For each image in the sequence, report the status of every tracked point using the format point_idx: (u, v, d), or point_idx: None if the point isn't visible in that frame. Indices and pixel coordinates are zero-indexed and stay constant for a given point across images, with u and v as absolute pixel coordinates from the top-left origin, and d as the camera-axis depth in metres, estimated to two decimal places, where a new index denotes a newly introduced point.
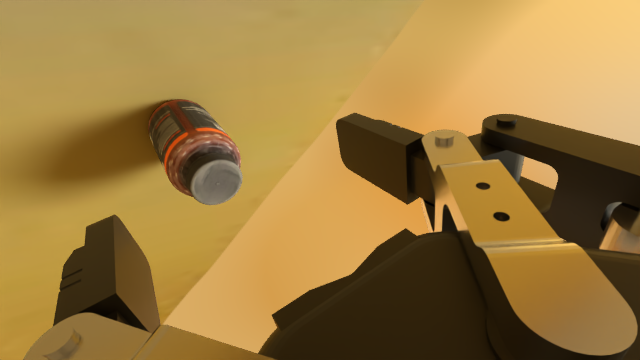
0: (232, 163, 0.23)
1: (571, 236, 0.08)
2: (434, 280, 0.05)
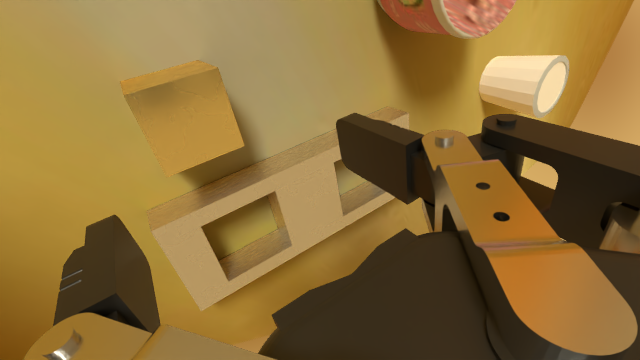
0: None
1: (571, 236, 0.08)
2: (434, 280, 0.05)
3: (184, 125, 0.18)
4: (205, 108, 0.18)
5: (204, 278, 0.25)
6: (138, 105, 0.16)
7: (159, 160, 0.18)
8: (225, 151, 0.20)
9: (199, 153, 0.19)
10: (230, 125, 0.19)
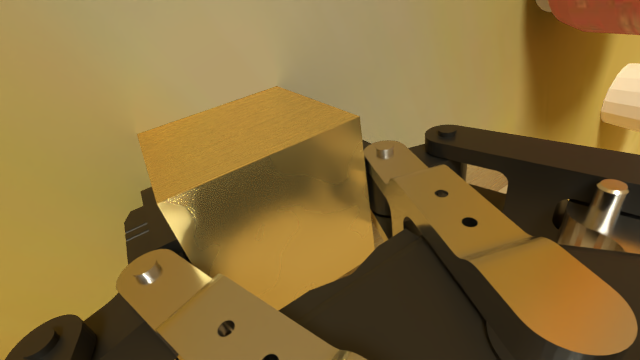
0: None
1: None
2: (434, 280, 0.05)
3: (281, 241, 0.08)
4: (324, 201, 0.08)
5: None
6: (190, 219, 0.07)
7: None
8: (345, 270, 0.10)
9: (301, 286, 0.09)
10: (359, 224, 0.10)
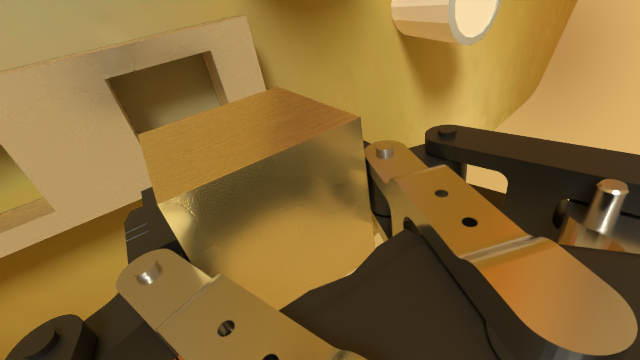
0: None
1: None
2: (434, 280, 0.05)
3: (281, 242, 0.08)
4: (325, 202, 0.08)
5: None
6: (191, 221, 0.07)
7: None
8: (345, 271, 0.10)
9: (302, 286, 0.09)
10: (360, 225, 0.10)
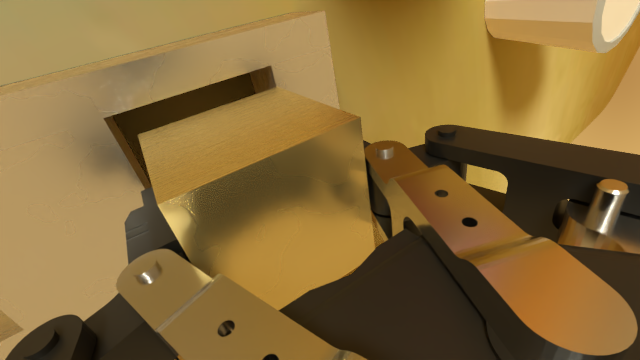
0: None
1: None
2: (434, 280, 0.05)
3: (281, 242, 0.08)
4: (325, 202, 0.08)
5: None
6: (190, 221, 0.07)
7: None
8: (345, 271, 0.10)
9: (302, 286, 0.09)
10: (360, 225, 0.10)
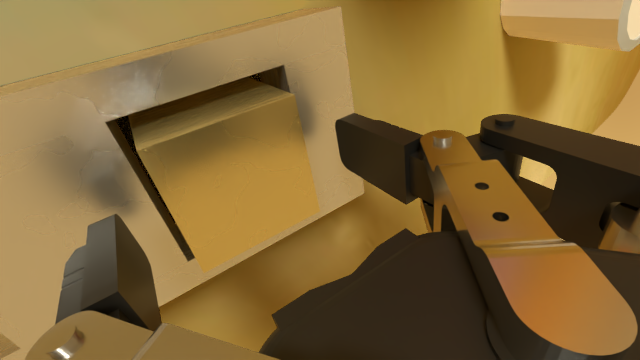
0: None
1: (570, 236, 0.08)
2: (434, 280, 0.05)
3: (235, 190, 0.11)
4: (270, 161, 0.11)
5: None
6: (161, 165, 0.09)
7: (193, 250, 0.11)
8: (293, 222, 0.12)
9: (255, 230, 0.12)
10: (303, 183, 0.12)
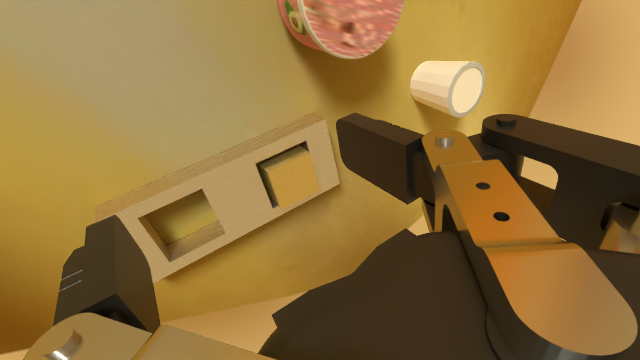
0: None
1: (571, 236, 0.08)
2: (434, 280, 0.05)
3: (291, 183, 0.34)
4: (302, 173, 0.34)
5: None
6: (273, 176, 0.32)
7: (279, 202, 0.34)
8: (310, 194, 0.35)
9: (297, 196, 0.35)
10: (313, 180, 0.35)
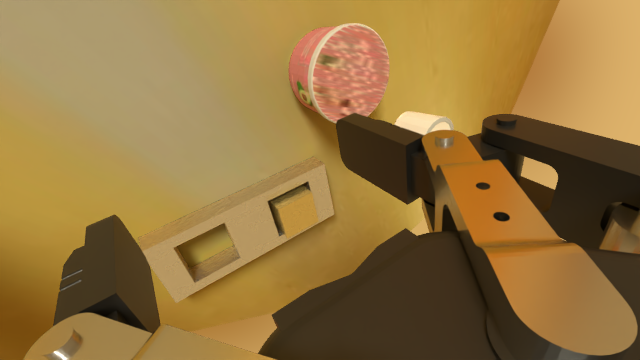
0: None
1: (571, 236, 0.08)
2: (434, 280, 0.05)
3: (296, 216, 0.41)
4: (305, 209, 0.41)
5: (177, 281, 0.37)
6: (282, 212, 0.39)
7: (285, 232, 0.41)
8: (310, 224, 0.43)
9: (300, 227, 0.42)
10: (313, 213, 0.42)
